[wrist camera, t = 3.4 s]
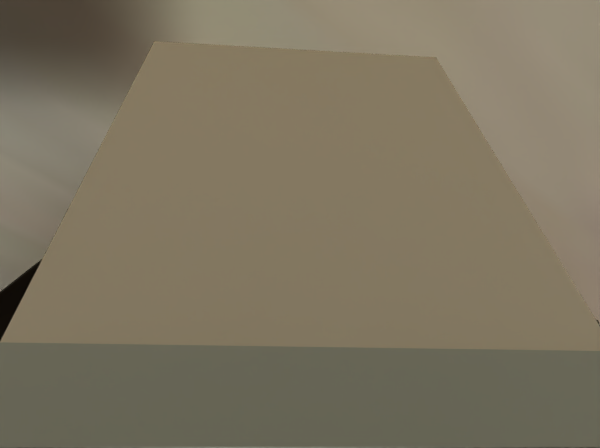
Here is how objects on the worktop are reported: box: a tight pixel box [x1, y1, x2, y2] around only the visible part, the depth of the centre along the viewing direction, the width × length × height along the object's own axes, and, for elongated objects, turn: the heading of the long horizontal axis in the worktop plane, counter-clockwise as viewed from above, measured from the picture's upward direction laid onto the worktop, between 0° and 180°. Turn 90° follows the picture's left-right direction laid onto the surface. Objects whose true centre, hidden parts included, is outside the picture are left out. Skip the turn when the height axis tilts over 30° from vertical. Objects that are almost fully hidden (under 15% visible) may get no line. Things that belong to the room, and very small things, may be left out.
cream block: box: [0, 41, 600, 448], centre depth 8 cm, size 5×5×7 cm
